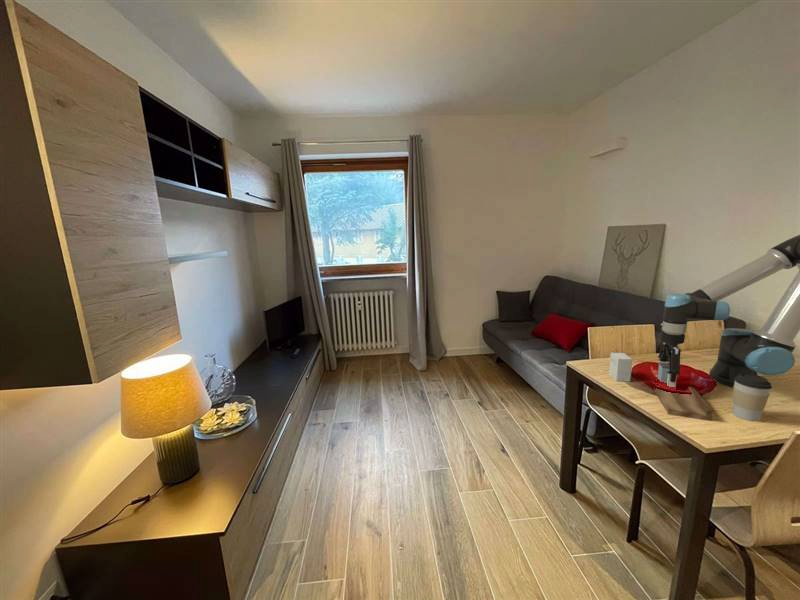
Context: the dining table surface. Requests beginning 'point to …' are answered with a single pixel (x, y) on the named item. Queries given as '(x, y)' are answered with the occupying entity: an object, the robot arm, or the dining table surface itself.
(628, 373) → the small box
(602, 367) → the dining table surface
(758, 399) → the coffee cup
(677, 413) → the board
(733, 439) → the dining table surface
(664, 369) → the grey tall block
